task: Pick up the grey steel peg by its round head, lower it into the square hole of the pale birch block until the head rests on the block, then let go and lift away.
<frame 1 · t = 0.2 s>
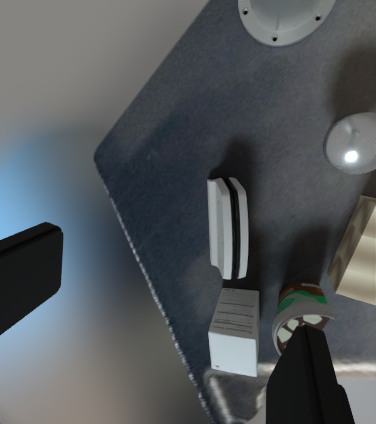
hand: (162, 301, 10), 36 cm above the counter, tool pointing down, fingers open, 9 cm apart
supplement box: (241, 303, 50), on the counter
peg: (342, 141, 37), on the counter
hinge: (230, 222, 46), on the counter
food container: (290, 296, 47), on the counter
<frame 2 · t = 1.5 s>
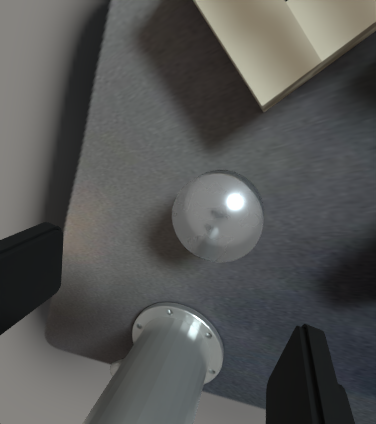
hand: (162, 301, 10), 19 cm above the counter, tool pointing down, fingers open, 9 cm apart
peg: (230, 196, 27), on the counter
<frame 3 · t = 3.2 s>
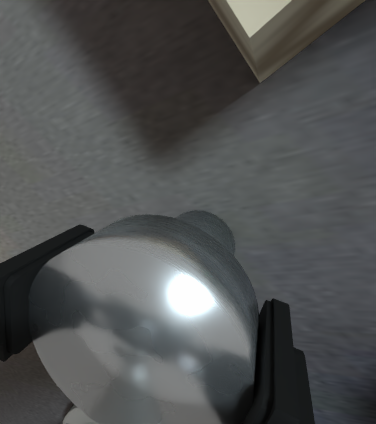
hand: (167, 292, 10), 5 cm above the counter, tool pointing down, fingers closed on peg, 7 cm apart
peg: (199, 244, 14), on the counter, touching gripper
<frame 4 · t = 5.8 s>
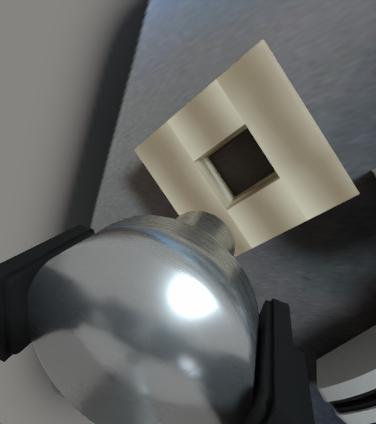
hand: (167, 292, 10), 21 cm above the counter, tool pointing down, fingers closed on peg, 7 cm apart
block: (241, 163, 28), on the counter
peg: (199, 244, 14), point 16 cm above the counter, touching gripper
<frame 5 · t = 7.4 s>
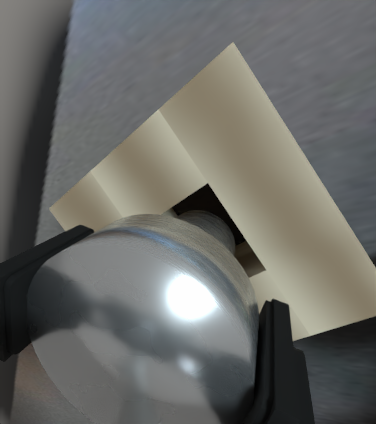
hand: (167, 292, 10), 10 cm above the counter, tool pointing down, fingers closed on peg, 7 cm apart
block: (216, 217, 19), on the counter
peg: (199, 244, 14), point 5 cm above the counter, touching gripper
when the fingers open (7 cm above the counter, at t = 8.6 s): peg drops 1 cm, resting on block.
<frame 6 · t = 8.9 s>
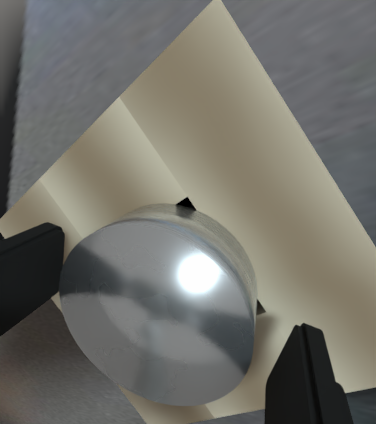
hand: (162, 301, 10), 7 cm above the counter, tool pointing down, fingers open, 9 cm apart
block: (207, 231, 16), on the counter
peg: (203, 234, 16), resting on block
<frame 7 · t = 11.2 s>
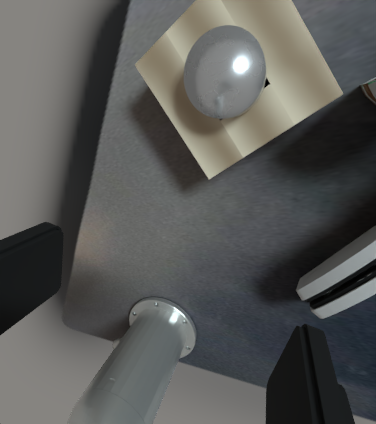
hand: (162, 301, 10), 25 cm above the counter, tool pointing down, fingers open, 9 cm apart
block: (237, 85, 29), on the counter
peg: (236, 85, 29), resting on block
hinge: (358, 246, 31), on the counter
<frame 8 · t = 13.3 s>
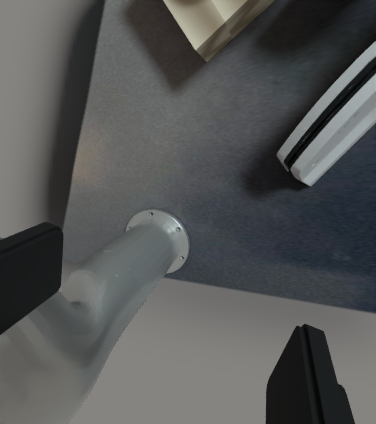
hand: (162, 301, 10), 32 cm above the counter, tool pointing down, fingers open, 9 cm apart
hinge: (333, 122, 34), on the counter
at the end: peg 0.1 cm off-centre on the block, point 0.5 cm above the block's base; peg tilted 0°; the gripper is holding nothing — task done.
